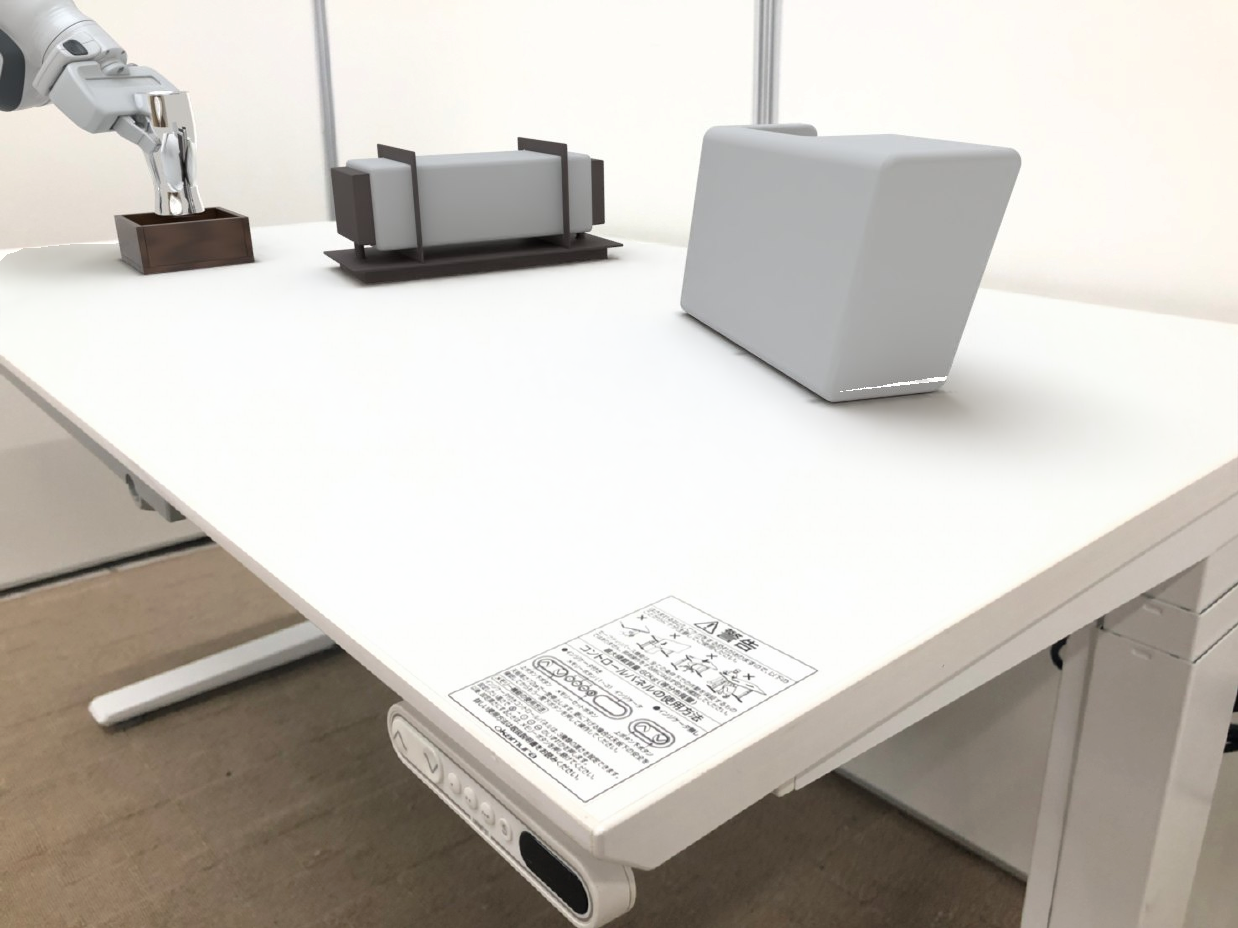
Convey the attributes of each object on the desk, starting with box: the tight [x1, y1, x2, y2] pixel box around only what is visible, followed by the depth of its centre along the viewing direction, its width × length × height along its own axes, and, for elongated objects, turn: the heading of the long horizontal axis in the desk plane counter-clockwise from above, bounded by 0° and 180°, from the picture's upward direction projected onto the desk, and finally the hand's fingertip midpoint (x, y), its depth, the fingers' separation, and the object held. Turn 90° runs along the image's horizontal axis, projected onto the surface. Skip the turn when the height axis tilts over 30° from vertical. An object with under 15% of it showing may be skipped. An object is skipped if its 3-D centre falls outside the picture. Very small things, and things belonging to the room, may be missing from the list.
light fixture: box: [322, 136, 624, 285], centre depth 132 cm, size 15×15×35 cm
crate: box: [113, 206, 256, 275], centre depth 138 cm, size 14×14×6 cm
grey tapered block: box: [679, 122, 1022, 403], centre depth 87 cm, size 30×10×30 cm, turn 16°
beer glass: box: [133, 90, 206, 217], centre depth 134 cm, size 7×7×15 cm
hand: (174, 146), depth 134 cm, fingers closed on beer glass, 7 cm apart
